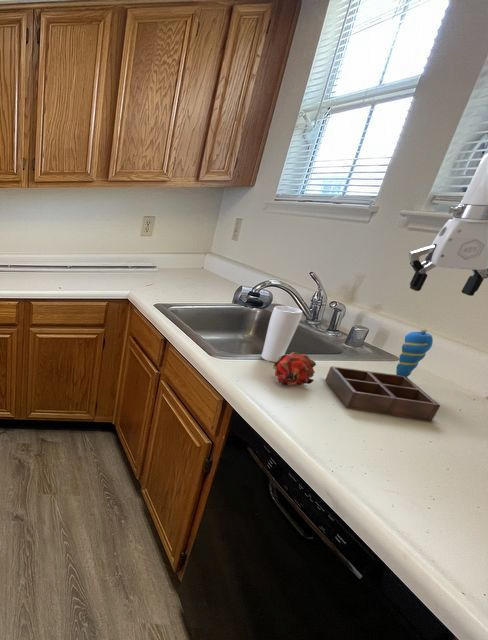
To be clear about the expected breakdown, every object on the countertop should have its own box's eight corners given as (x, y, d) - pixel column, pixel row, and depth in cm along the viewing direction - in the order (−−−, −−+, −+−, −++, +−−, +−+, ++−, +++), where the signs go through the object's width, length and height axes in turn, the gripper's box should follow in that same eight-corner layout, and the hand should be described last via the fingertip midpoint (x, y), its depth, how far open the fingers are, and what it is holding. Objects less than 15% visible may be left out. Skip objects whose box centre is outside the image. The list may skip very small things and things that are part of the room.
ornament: (383, 381, 108) (410, 326, 102) (386, 375, 112) (412, 322, 105) (410, 388, 105) (439, 332, 98) (412, 382, 108) (440, 327, 102)
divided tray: (398, 390, 104) (405, 376, 102) (431, 421, 91) (440, 405, 89) (324, 380, 109) (330, 365, 107) (346, 407, 96) (353, 392, 94)
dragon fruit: (293, 380, 112) (285, 402, 104) (269, 357, 113) (259, 377, 106) (325, 363, 105) (319, 385, 98) (299, 339, 106) (291, 359, 99)
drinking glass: (254, 353, 124) (269, 304, 118) (279, 355, 123) (296, 306, 116) (262, 362, 118) (279, 311, 112) (289, 365, 117) (308, 313, 110)
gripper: (439, 213, 90) (402, 291, 97) (547, 218, 84) (499, 300, 92) (420, 210, 96) (387, 284, 103) (520, 215, 91) (477, 292, 98)
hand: (440, 291), depth 98 cm, fingers open, 9 cm apart
